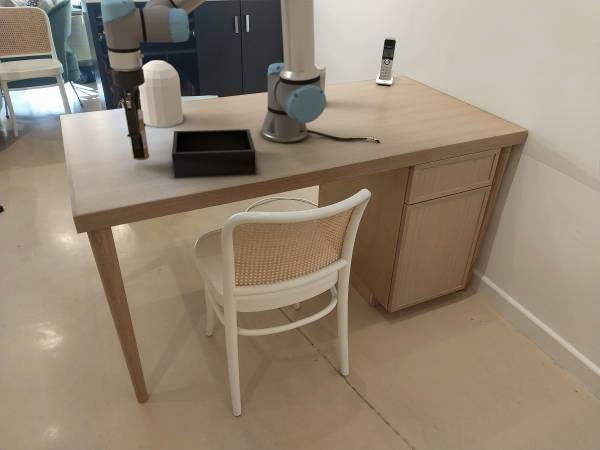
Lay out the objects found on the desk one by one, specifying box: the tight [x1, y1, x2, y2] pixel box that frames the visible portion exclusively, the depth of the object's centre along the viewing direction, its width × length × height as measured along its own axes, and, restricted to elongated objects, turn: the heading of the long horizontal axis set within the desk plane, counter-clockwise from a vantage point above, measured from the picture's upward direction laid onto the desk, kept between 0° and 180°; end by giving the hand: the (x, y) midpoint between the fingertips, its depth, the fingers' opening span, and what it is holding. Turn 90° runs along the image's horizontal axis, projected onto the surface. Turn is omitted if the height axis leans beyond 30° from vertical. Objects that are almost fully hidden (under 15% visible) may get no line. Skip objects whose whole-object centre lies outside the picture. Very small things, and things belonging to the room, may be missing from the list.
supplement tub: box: [315, 63, 327, 92], centre depth 174 cm, size 10×10×15 cm
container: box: [139, 59, 184, 128], centre depth 151 cm, size 13×13×20 cm
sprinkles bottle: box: [124, 108, 150, 161], centre depth 121 cm, size 5×5×14 cm
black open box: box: [171, 128, 257, 179], centre depth 128 cm, size 22×16×7 cm
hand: (140, 153), depth 124 cm, fingers closed on sprinkles bottle, 4 cm apart
